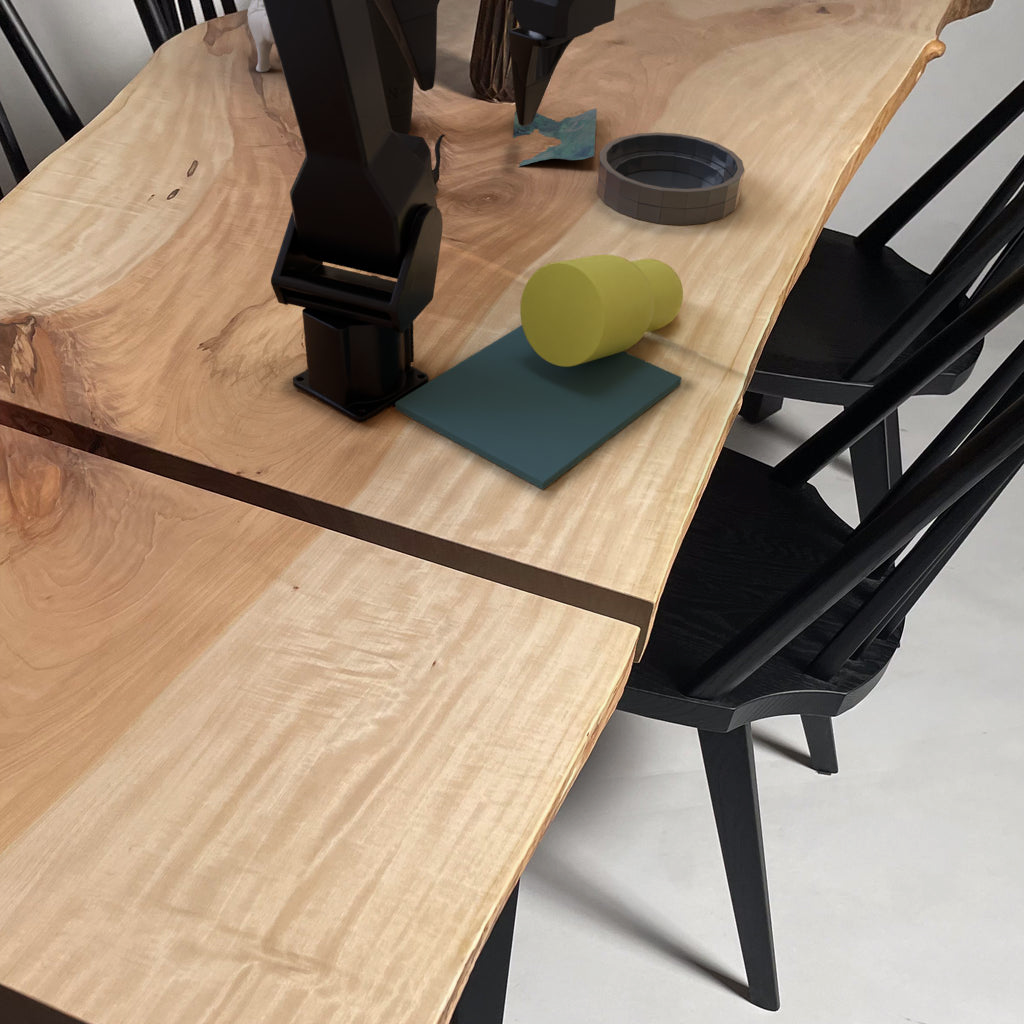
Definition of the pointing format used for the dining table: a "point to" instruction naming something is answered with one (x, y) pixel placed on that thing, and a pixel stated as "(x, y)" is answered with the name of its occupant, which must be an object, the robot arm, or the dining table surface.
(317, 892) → the dining table surface
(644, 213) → the bowl
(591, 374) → the mat
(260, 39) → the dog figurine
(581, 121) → the teal flat jagged piece
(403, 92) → the drinking cup
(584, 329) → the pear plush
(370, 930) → the dining table surface
